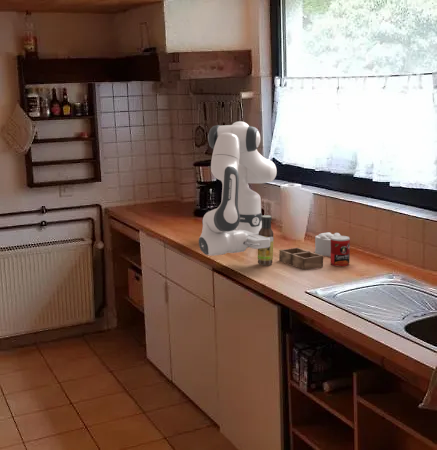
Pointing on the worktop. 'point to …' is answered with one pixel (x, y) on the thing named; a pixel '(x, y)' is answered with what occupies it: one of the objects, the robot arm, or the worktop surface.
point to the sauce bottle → (267, 253)
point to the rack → (301, 258)
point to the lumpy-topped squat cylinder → (324, 243)
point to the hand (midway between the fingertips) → (267, 237)
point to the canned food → (340, 250)
